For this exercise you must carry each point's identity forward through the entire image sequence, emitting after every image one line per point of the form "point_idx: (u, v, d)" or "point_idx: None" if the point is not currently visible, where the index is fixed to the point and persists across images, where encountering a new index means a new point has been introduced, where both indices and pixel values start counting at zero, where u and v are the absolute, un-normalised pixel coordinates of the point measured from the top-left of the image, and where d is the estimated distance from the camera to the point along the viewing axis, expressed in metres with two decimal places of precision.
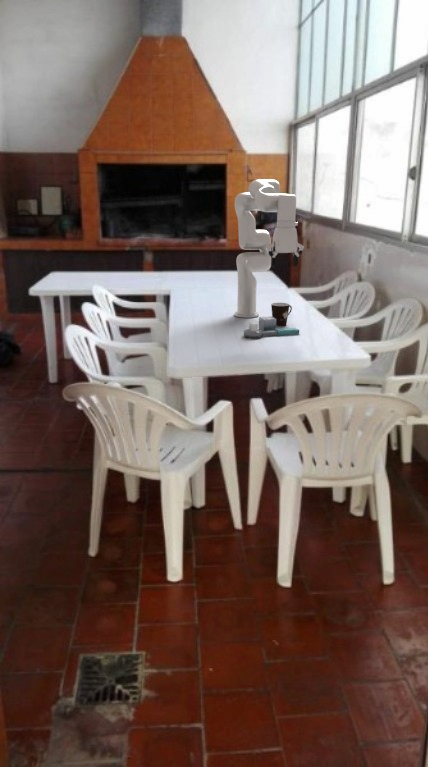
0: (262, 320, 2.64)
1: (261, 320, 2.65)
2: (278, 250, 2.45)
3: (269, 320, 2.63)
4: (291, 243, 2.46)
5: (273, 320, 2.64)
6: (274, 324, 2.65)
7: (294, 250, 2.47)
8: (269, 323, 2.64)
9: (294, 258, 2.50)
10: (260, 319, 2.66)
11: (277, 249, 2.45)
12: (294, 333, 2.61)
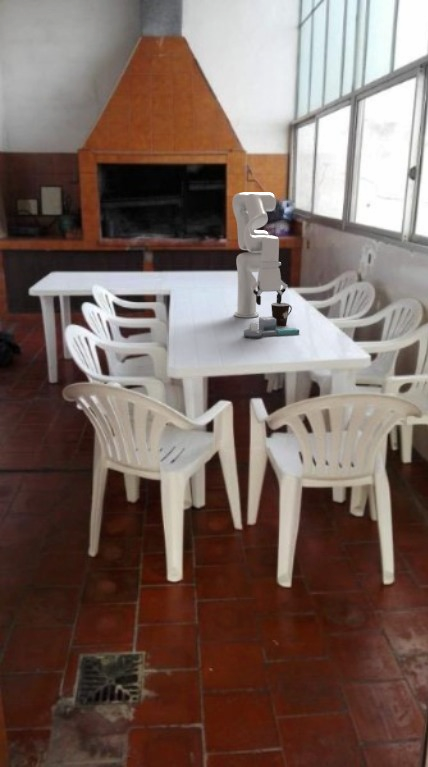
0: (262, 320, 2.64)
1: (261, 320, 2.65)
2: (262, 289, 2.58)
3: (269, 320, 2.63)
4: (275, 282, 2.59)
5: (273, 320, 2.64)
6: (274, 324, 2.65)
7: (278, 289, 2.60)
8: (269, 323, 2.64)
9: (278, 296, 2.63)
10: (260, 319, 2.66)
11: (261, 288, 2.58)
12: (294, 333, 2.61)
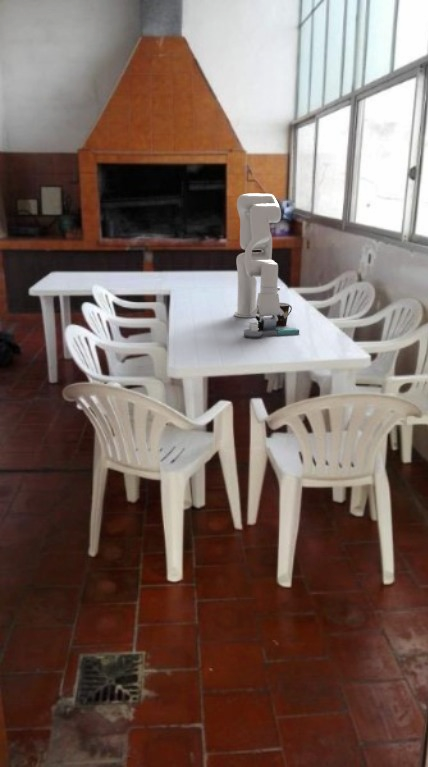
0: (262, 320, 2.64)
1: None
2: (261, 314, 2.62)
3: (269, 320, 2.63)
4: (273, 307, 2.63)
5: (273, 320, 2.64)
6: (274, 324, 2.65)
7: (276, 313, 2.64)
8: (269, 323, 2.64)
9: None
10: None
11: (260, 313, 2.62)
12: (294, 333, 2.61)
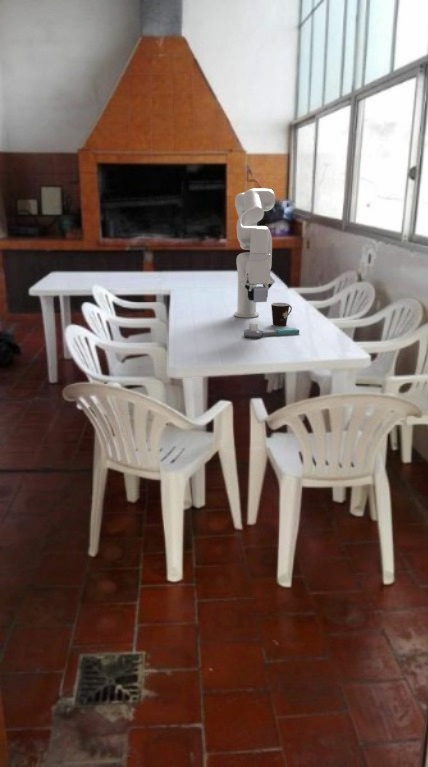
0: (252, 289, 2.51)
1: None
2: (251, 282, 2.49)
3: (259, 289, 2.50)
4: (264, 275, 2.50)
5: (264, 289, 2.51)
6: (265, 293, 2.51)
7: (267, 282, 2.51)
8: (259, 292, 2.50)
9: None
10: None
11: (250, 281, 2.49)
12: (294, 333, 2.61)
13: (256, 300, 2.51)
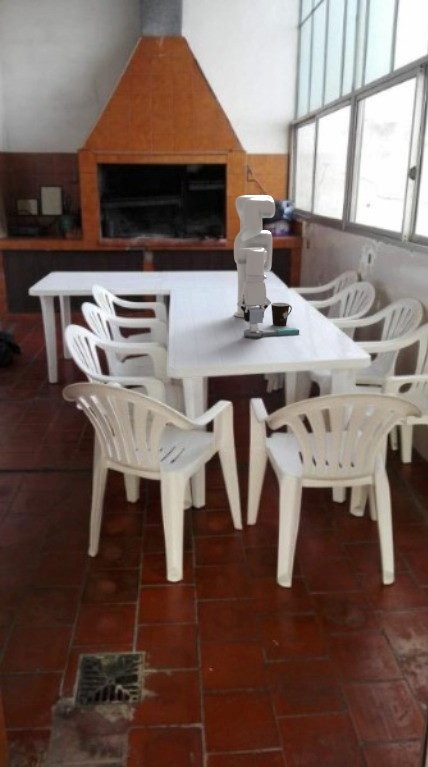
0: (248, 310, 2.52)
1: None
2: (247, 303, 2.50)
3: (255, 310, 2.51)
4: (260, 296, 2.50)
5: (259, 310, 2.51)
6: (261, 314, 2.52)
7: (263, 303, 2.52)
8: (255, 313, 2.51)
9: None
10: None
11: (246, 302, 2.50)
12: (294, 333, 2.61)
13: (252, 321, 2.52)
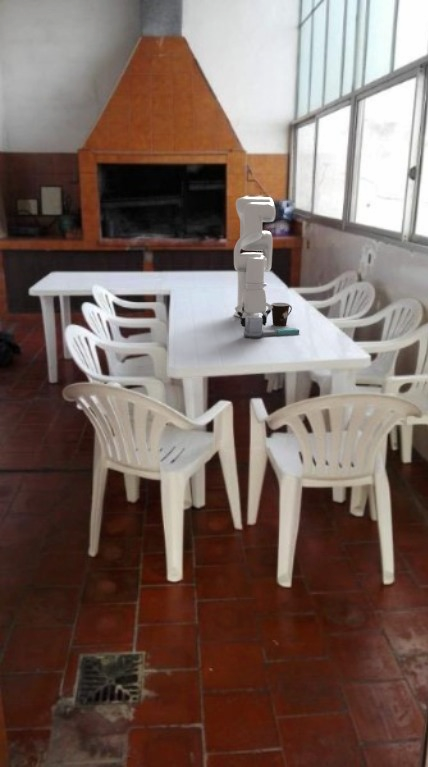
0: (248, 320, 2.53)
1: (247, 320, 2.54)
2: (247, 311, 2.51)
3: (255, 320, 2.52)
4: (260, 304, 2.51)
5: (259, 320, 2.53)
6: (260, 324, 2.54)
7: (263, 310, 2.53)
8: (255, 323, 2.53)
9: (263, 317, 2.56)
10: (246, 319, 2.56)
11: (246, 310, 2.51)
12: (294, 333, 2.61)
13: (252, 331, 2.53)
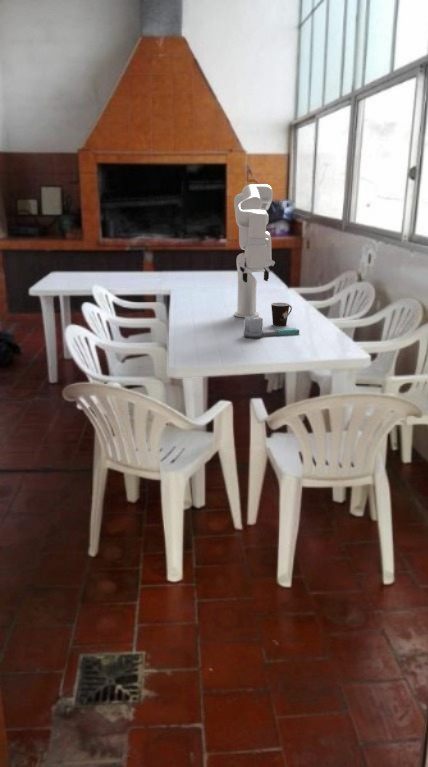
0: (248, 320, 2.53)
1: (247, 320, 2.54)
2: (249, 266, 2.53)
3: (255, 320, 2.52)
4: (262, 259, 2.53)
5: (259, 320, 2.53)
6: (260, 324, 2.54)
7: (265, 266, 2.55)
8: (255, 323, 2.53)
9: (265, 273, 2.58)
10: (246, 319, 2.56)
11: (248, 265, 2.53)
12: (294, 333, 2.61)
13: (252, 331, 2.53)
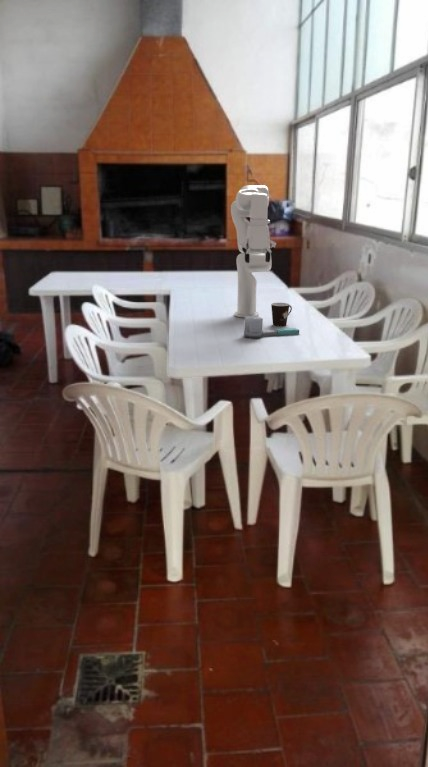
0: (248, 320, 2.53)
1: (247, 320, 2.54)
2: (251, 247, 2.58)
3: (255, 320, 2.52)
4: (263, 240, 2.59)
5: (259, 320, 2.53)
6: (260, 324, 2.54)
7: (266, 247, 2.61)
8: (255, 323, 2.53)
9: (267, 254, 2.64)
10: (246, 319, 2.56)
11: (250, 246, 2.58)
12: (294, 333, 2.61)
13: (252, 331, 2.53)
